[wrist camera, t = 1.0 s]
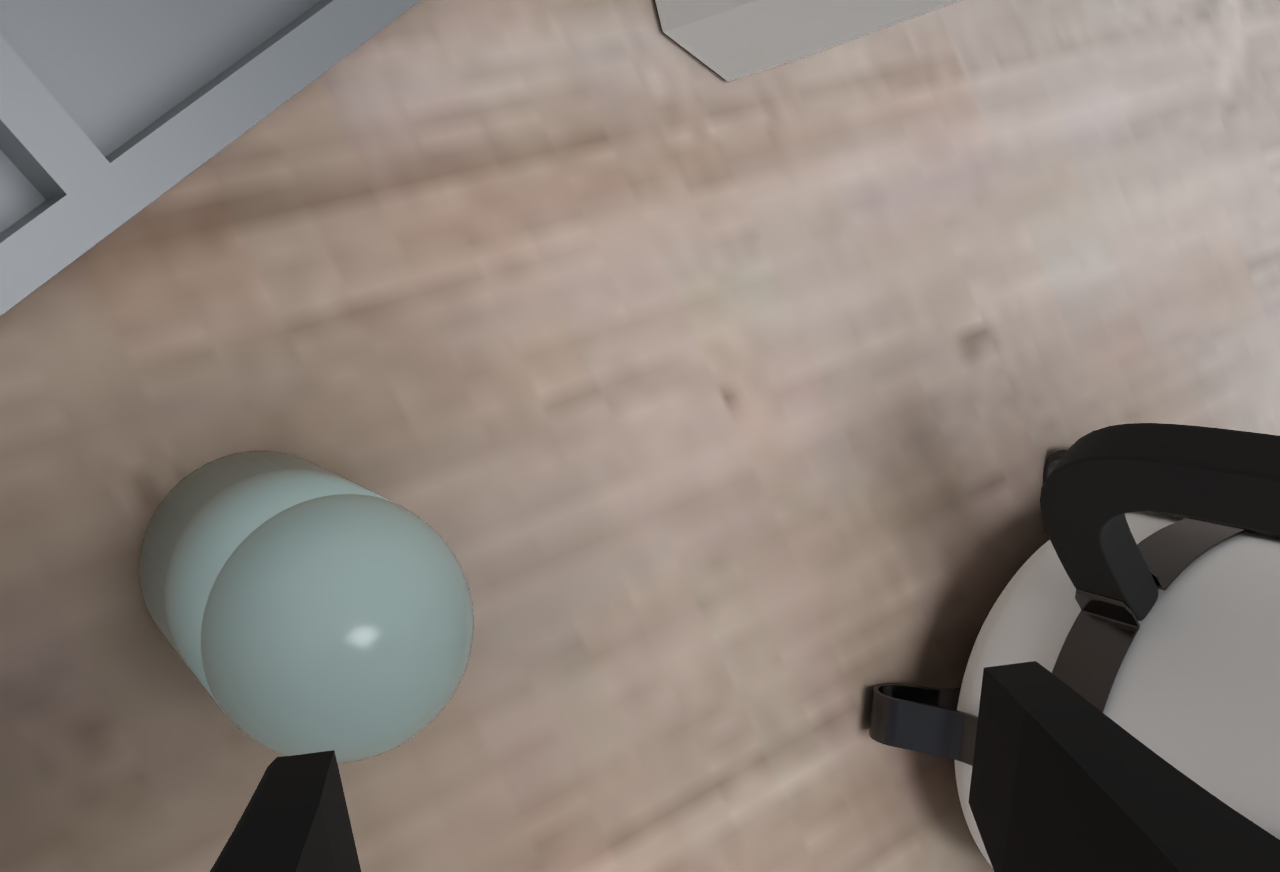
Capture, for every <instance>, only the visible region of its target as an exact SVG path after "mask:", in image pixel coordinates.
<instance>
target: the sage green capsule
mask: <svg viewBox="0 0 1280 872" xmlns="http://www.w3.org/2000/svg"><path fill="white" fill-rule="evenodd" d="M139 577H140V584H141V591H142V594H143V598H144V601H145V604H146V607H147V609H148V611H149V613H150V615H151V617H152V619H153V620H154V622H155V623H156V625H157V626H158V628H159V629H160V631H161V632H162V633H163V634H164V636H165V637H166V638H167V640H168V641H169V642H170V644H171V645H172V646H173V647H174V649H175V650H176V651H177V653H178V654H179V655H180V656H181V658H182V659H183V660H184V662H185V663H186V664H187V666H188V667H189V668H190V669H191V671H192V672H193V673H194V675H195V676H196V677H197V679H198V680H199V681H200V682H201V684H202V685H203V686H204V688H205V689H206V690H207V691H208V693H209V694H210V695H211V697H212V698H213V699H214V701H215V702H216V703H217V704H218V706H219V707H220V708H221V710H222V711H223V712H224V713H225V714H226V716H227V717H228V718H229V719H230V720H231V721H232V722H233V723H234V724H235V725H236V726H237V727H238V728H239V729H240V730H241V731H242V732H244V733H245V734H246V735H247V736H249V737H250V738H251V739H252V740H253V741H255V742H257V743H259V744H260V745H262V746H264V747H265V748H267V749H269V750H272V751H274V752H276V753H279V754H281V755H284V756H293V755H301V754H309V753H317V752H324V751H332V750H334V751H335V756H336V760H337V763H349V762H355V761H360V760H364V759H367V758H371V757H374V756H377V755H380V754H383V753H385V752H387V751H390V750H392V749H394V748H396V747H398V746H400V745H402V744H403V743H405V742H407V741H409V740H410V739H411V738H413V737H414V736H416V735H417V734H418V733H420V732H421V731H422V730H423V729H424V728H426V727H427V726H428V725H429V724H430V723H431V722H432V721H433V720H434V719H435V718H436V717H437V716H438V714H439V713H440V712H441V711H442V710H443V709H444V708H445V706H446V705H447V703H448V702H449V700H450V699H451V697H452V696H453V694H454V693H455V691H456V689H457V687H458V685H459V684H460V682H461V679H462V677H463V674H464V672H465V670H466V667H467V663H468V660H469V656H470V653H471V647H472V640H473V628H474V614H473V603H472V598H471V594H470V589H469V586H468V583H467V580H466V577H465V575H464V572H463V569H462V567H461V565H460V563H459V561H458V559H457V558H456V556H455V554H454V553H453V551H452V550H451V549H450V547H449V546H448V544H447V543H446V542H445V540H444V539H443V538H442V537H441V536H440V535H439V534H438V533H437V531H436V530H435V529H434V528H433V527H432V526H431V525H429V524H428V523H427V522H425V521H424V520H423V519H421V518H420V517H419V516H417V515H416V514H414V513H413V512H411V511H409V510H408V509H406V508H404V507H402V506H400V505H399V504H396V503H394V502H392V501H390V500H388V499H386V498H384V497H382V496H380V495H378V494H376V493H374V492H371V491H369V490H367V489H365V488H363V487H361V486H359V485H357V484H355V483H353V482H351V481H349V480H346V479H344V478H342V477H340V476H338V475H336V474H334V473H332V472H330V471H328V470H326V469H324V468H321V467H319V466H317V465H315V464H313V463H311V462H309V461H307V460H304V459H302V458H299V457H296V456H294V455H289V454H285V453H281V452H273V451H249V452H243V453H236V454H233V455H229V456H226V457H222V458H220V459H217V460H215V461H213V462H210V463H208V464H206V465H204V466H202V467H201V468H199V469H197V470H196V471H194V472H193V473H191V474H190V475H189V476H187V477H186V478H185V479H183V480H182V481H181V482H180V483H179V484H178V485H177V486H176V487H175V488H174V489H172V490H171V491H170V493H169V494H168V495H167V496H166V498H165V499H164V500H163V501H162V503H161V504H160V505H159V507H158V509H157V510H156V512H155V514H154V515H153V517H152V519H151V521H150V523H149V526H148V528H147V530H146V533H145V536H144V540H143V543H142V547H141V554H140V561H139Z"/></svg>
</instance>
